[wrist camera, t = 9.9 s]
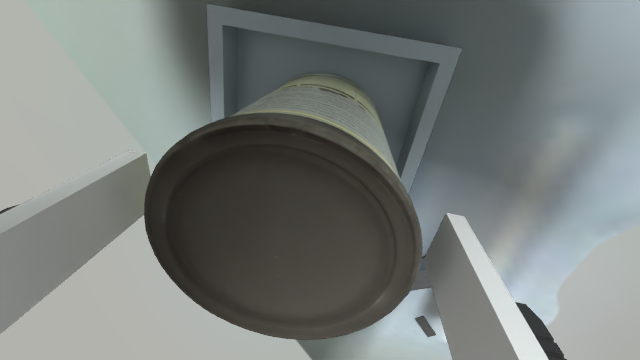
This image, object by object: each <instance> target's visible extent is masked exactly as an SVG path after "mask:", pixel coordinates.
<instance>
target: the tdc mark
mask: <svg viewBox="0 0 640 360" xmlns="http://www.w3.org/2000/svg"><path fill="white" fill-rule="evenodd" d="M416 321H417V322H418V324H419V325H420V326H421V328H422V329H423V331H424V332H425V333H426V335H427V336H428V337H430V336H434V335H436V334H435V332H434V331H433V329H432V328H431V326H430V325H429V323H428V322H427V320H426V319H425V318H424V316H422V317H418V318H416Z"/></svg>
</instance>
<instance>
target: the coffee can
mask: <svg viewBox="0 0 640 360" xmlns="http://www.w3.org/2000/svg"><path fill="white" fill-rule="evenodd" d="M144 216H145V226H146V232H147V235H148V239H149V242H150V244H151V246H152V249H153V251H154V254H155V256H156V257H157V259H158V261H159V263H160V264H161V266H162V267H163V269H164V270H165V271H166V273H167V274H168V275H169V277H170V278H171V279H172V280H173V281H174V282H175V284H176V285H177V286H178V287H179V288H180V289H181V290H182V291H183V292H184V293H185V294H186V295H187V296H189V297H190V298H191V299H192V300H193V301H194V302H196V303H197V304H198V305H200V306H202V307H203V308H204V309H206V310H207V311H209V312H210V313H212V314H214V315H216V316H217V317H220V318H222V319H224V320H226V321H228V322H230V323H232V324H234V325H237V326H239V327H242V328H244V329H248V330H250V331H253V332H257V333H260V334H264V335H268V336H273V337H279V338H285V339H299V340H312V339H326V338H331V337H338V336H343V335H347V334H350V333H353V332H356V331H359V330H362V329H364V328H366V327H368V326H370V325H372V324H374V323H375V322H377V321H379V320H380V319H382V318H383V317H385V316H386V315H387V314H389V313H390V312H392V311H393V310H394V309H395V308H396V307H397V306H398V305H399V304H400V302H401V301H402V300H403V299H404V298H405V296H406V295H407V293H408V292H409V291H410V289H411V287H412V285H413V284H414V282H415V279H416V277H417V274H418V271H419V268H420V263H421V257H422V237H421V229H420V225H419V221H418V217H417V214H416V211H415V209H414V206H413V203H412V201H411V199H410V197H409V195H408V193H407V191H406V189H405V187H404V186H403V184H402V183H401V180H400V177H399V174H398V171H397V168H396V165H395V163H394V160H393V157H392V154H391V151H390V148H389V145H388V142H387V139H386V137H385V134H384V131H383V128H382V123H381V119H380V116H379V113H378V111H377V109H376V107H375V105H374V103H373V102H372V100H371V99H370V97H369V96H368V95H367V94H366V93H365V92H364V91H363V90H362V89H361V88H360V87H359V86H357V85H356V84H355V83H353V82H352V81H350V80H348V79H346V78H343V77H340V76H337V75H333V74H327V73H311V74H306V75H302V76H298V77H296V78H294V79H292V80H290V81H288V82H286V83H285V84H284V85H282V86H281V87H280V88H279V89H277V90H275V91H273V92H272V93H270V94H268V95H266V96H264V97H263V98H261V99H259V100H257V101H256V102H254V103H252V104H251V105H249V106H247V107H245V108H244V109H242V110H240V111H238V112H237V113H235V114H233V115H232V116H230V117H227V118H223V119H220V120H217V121H215V122H212V123H210V124H207V125H205V126H203V127H201V128H199V129H197V130H195V131H193V132H191V133H190V134H188V135H187V136H185V137H184V138H183V139H181V140H180V141H179V142H177V143H176V144H175V145H174V146H172V147H171V148H170V149H169V150H168V151H167V152H166V153H165V155H164V156H163V157H162V158H161V160H160V161H159V162H158V164H157V165H156V167H155V169H154V171H153V174H152V176H151V178H150V181H149V183H148V186H147V190H146V194H145V202H144Z"/></svg>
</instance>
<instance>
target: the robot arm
mask: <svg viewBox="0 0 640 360" xmlns="http://www.w3.org/2000/svg"><path fill="white" fill-rule="evenodd" d="M150 178H151V176H150V171H149V165H148V161H147V155H146V153H142V152H137V151H133V150H128V151H126V152H124V153H122V154H120V155H118V156H116V157H114V158H112V159H110V160H108V161H106V162H104V163H102V164H100V165H98V166H96V167H94V168H92V169H90V170H88V171H86V172H84V173H82V174H80V175H78V176H76V177H74V178H72V179H70V180H68V181H66V182H64V183H62V184H60V185H58V186H56V187H54V188H52V189H50V190H48V191H46V192H44V193H42V194H40V195H38V196H36V197H34V198H32V199H30V200H28V201H26V202H24V203H22V204H19V205H16V206H13V207H10V208H6V209H4V210H2V211H0V334H1V333H2V332H3V331H5V330H6V329H7V328H8V327H9V326H11V325H12V324H13V323H14V322H15V321H17V320H18V319H19V318H20V317H21V316H23V315H24V314H25V313H26V312H27V311H29V310H30V309H31V308H32V307H33V306H35V305H36V304H37V303H38V302H39V301H41V300H42V299H43V298H44V297H45V296H47V295H48V294H49V293H50V292H52V290H54V289H55V288H56V287H58V286H59V285H60V284H61V283H62V282H63V281H65V280H66V279H67V278H68V277H69V276H71V275H72V274H73V273H74V272H76V271H77V270H78V269H79V268H80V267H81V266H83V265H84V264H85V263H86V262H87V261H88V260H90V259H91V258H92V257H93V256H95V255H96V254H97V253H98V252H100V250H102V249H103V248H104V247H106V246H107V245H108V244H109V243H110V242H111V241H113V240H114V239H115V238H116V237H118V236H119V235H120V234H121V233H122V232H124V231H125V230H126V229H127V228H128V227H129V226H131V225H132V224H133V223H134V222H136V221H137V220H138V219H139V218H140V217H142V216H143V215H144V202H145V194H146V190H147V186H148V183H149V181H150ZM424 263H425V266H426V270H427V273H428V277H429V280H430V284H431V287H432V290H433V294H434V297H435V301H436V304H437V308H438V311H439V314H440V318H441V321H442V325H443V328H444V332H445V335H446V339H447V342H448V345H449V349H450V352H451V356H452V359H453V360H567V359H564V355H563V353H562V351H561V350H560V348H559V347H558V345H557V344H556V343H554V341H553V340H554V339H553V337H552V336H551V334H550V333H549V331H548V330H547V328H546V326H545V325H544V323H543V322H542V320H541V319H540V318H539V317H538V316H537V315H536V314H535V313H534V312H533V311H532V310H531V309H530V308H529V307H528V306H527V305H526V304H522V303H517V302H515V301H514V300H513V298H512V296H511V295H510V293H509V291H508V290H507V288H506V286H505V284H504V283H503V281H502V279H501V278H500V276H499V274H498V273H497V271H496V269H495V267H494V266H493V264H492V262H491V261H490V259H489V257H488V256H487V254H486V252H485V250H484V249H483V247H482V245H481V244H480V242H479V240H478V239H477V237H476V235H475V233H474V232H473V230H472V228H471V227H470V225H469V223H468V222H467V220H466V218H465V216H460V215H455V214H450V213H446V214H445V216H444V218H443V220H442V222H441V225H440V227H439V229H438V231H437V233H436V235H435V237H434V239H433V241H432V243H431V245H430V247H429V249H428V251H427V253H426V255H425V257H424Z"/></svg>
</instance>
